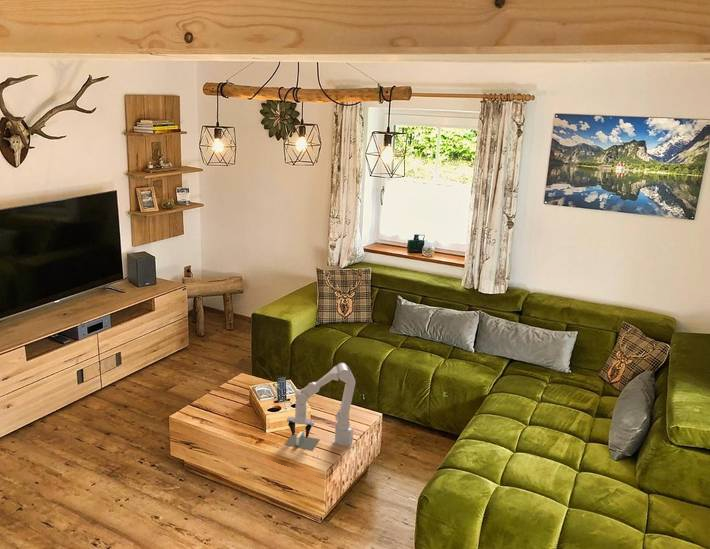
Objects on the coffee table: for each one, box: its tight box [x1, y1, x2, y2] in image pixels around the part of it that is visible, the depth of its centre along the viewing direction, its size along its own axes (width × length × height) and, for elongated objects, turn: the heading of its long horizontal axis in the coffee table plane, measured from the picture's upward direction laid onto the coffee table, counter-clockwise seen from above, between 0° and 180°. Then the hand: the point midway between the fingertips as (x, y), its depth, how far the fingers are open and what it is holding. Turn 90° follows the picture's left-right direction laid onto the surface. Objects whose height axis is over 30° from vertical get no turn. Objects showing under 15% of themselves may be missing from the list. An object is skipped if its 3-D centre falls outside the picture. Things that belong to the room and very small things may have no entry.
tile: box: [296, 430, 305, 446], centre depth 329 cm, size 2×6×5 cm, turn 164°
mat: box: [283, 433, 321, 452], centre depth 331 cm, size 16×12×1 cm
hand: (300, 435), depth 329 cm, fingers open, 7 cm apart
